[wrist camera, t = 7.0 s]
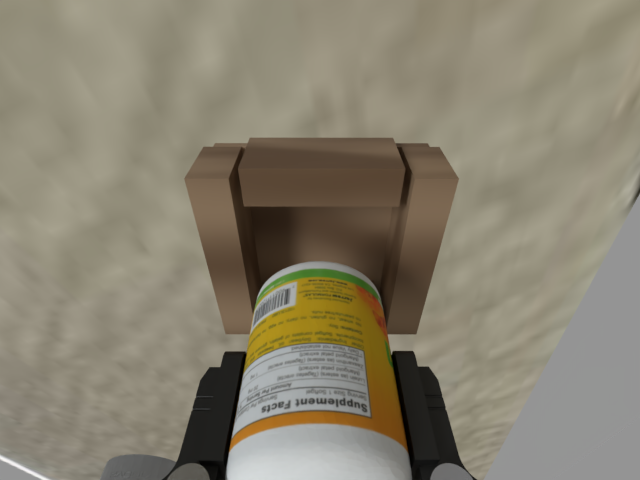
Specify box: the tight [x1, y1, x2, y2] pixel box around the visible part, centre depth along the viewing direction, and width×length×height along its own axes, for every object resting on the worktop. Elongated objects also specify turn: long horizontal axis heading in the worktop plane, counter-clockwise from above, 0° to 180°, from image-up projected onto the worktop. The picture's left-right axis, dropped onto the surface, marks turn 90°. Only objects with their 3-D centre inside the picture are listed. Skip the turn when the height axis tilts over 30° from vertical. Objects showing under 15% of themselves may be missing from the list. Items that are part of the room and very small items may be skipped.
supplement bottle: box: [225, 261, 412, 480], centre depth 12 cm, size 5×5×10 cm
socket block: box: [184, 138, 459, 334], centre depth 19 cm, size 11×11×3 cm
